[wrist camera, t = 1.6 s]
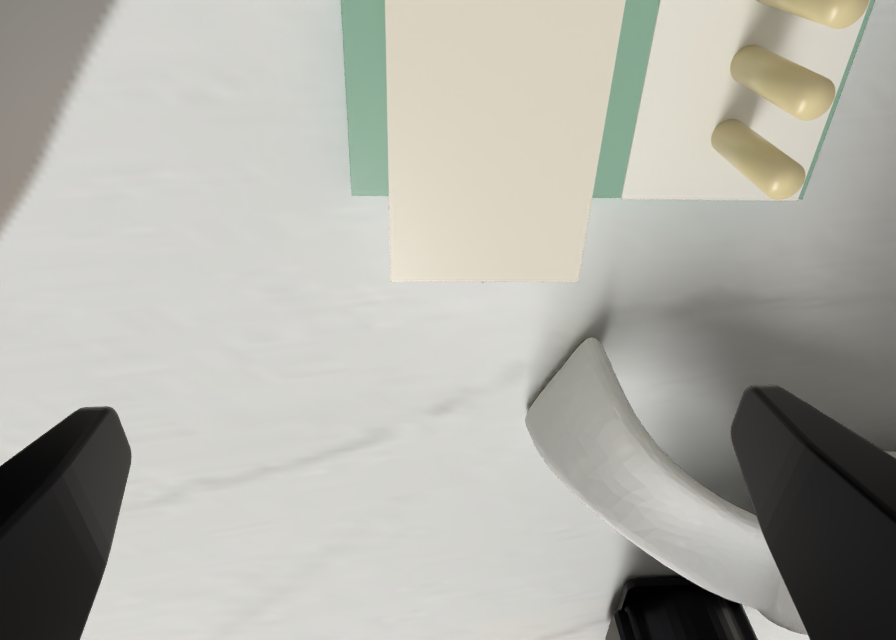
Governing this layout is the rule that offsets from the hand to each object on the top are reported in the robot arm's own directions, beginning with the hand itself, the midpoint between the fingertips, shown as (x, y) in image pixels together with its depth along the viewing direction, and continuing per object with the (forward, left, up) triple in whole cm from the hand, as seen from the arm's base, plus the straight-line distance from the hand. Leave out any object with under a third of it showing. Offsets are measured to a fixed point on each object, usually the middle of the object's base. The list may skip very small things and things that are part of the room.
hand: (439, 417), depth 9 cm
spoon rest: (-16, +15, -13) cm, 25 cm away
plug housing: (-1, -2, -11) cm, 12 cm away
